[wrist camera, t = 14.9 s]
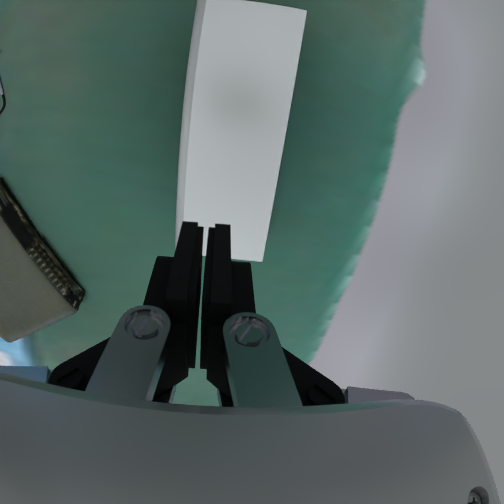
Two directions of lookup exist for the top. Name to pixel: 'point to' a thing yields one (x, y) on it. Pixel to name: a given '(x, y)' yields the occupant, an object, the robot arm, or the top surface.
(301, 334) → the top surface
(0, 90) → the multimeter
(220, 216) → the panel
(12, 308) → the network switch
